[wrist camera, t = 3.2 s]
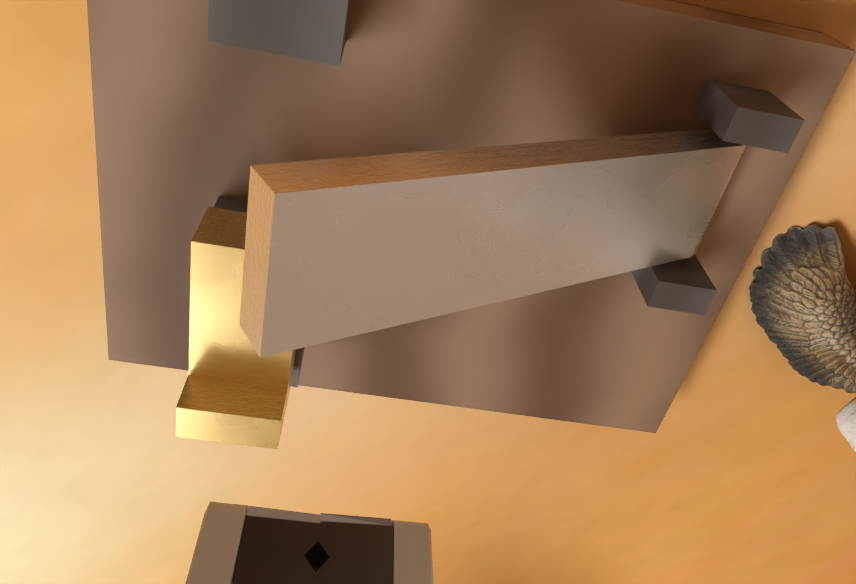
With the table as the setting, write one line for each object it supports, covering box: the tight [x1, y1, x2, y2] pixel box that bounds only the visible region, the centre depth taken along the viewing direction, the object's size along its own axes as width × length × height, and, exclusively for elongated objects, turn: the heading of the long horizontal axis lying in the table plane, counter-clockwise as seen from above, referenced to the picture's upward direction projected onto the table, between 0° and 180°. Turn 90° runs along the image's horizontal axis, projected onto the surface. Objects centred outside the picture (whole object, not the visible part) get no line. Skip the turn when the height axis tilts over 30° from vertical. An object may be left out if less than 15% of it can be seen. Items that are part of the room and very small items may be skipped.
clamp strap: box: [240, 129, 746, 357], centre depth 19 cm, size 16×4×1 cm
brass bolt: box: [176, 206, 296, 449], centre depth 21 cm, size 3×6×3 cm, turn 169°
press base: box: [87, 0, 856, 433], centre depth 24 cm, size 22×16×4 cm
